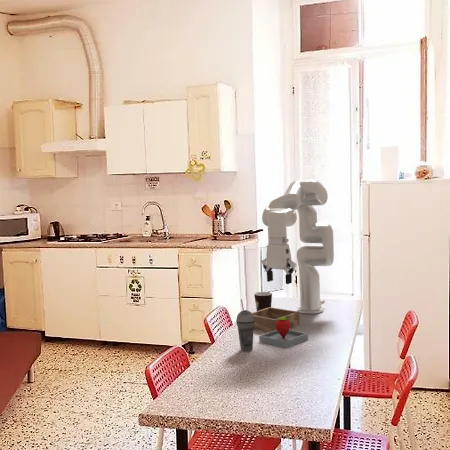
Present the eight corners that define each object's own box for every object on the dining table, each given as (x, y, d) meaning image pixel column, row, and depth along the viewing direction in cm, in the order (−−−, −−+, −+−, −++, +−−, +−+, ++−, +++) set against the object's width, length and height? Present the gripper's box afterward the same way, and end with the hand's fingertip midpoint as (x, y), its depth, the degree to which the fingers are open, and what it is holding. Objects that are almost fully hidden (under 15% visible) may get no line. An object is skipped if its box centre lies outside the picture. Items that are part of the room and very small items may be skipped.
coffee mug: (273, 315, 282) (272, 295, 281) (255, 316, 282) (254, 295, 281) (272, 310, 293) (271, 290, 292) (254, 310, 293) (253, 290, 292)
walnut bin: (270, 319, 275) (270, 307, 274) (299, 325, 263) (299, 311, 262) (246, 327, 263) (246, 314, 262) (275, 333, 251) (275, 319, 251)
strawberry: (273, 340, 239) (272, 315, 238) (279, 334, 246) (278, 311, 245) (287, 341, 237) (286, 316, 236) (293, 335, 244) (292, 311, 243)
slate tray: (281, 333, 251) (280, 328, 251) (308, 339, 241) (307, 333, 241) (259, 341, 241) (259, 335, 241) (286, 347, 231) (286, 341, 231)
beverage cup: (254, 352, 227) (252, 301, 225) (235, 352, 228) (233, 301, 226) (257, 347, 234) (255, 297, 232) (239, 346, 235) (236, 297, 233)
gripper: (300, 241, 239) (301, 282, 241) (266, 238, 251) (268, 278, 253) (288, 243, 234) (290, 286, 236) (255, 241, 246) (257, 281, 247)
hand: (279, 282), depth 244 cm, fingers open, 9 cm apart
